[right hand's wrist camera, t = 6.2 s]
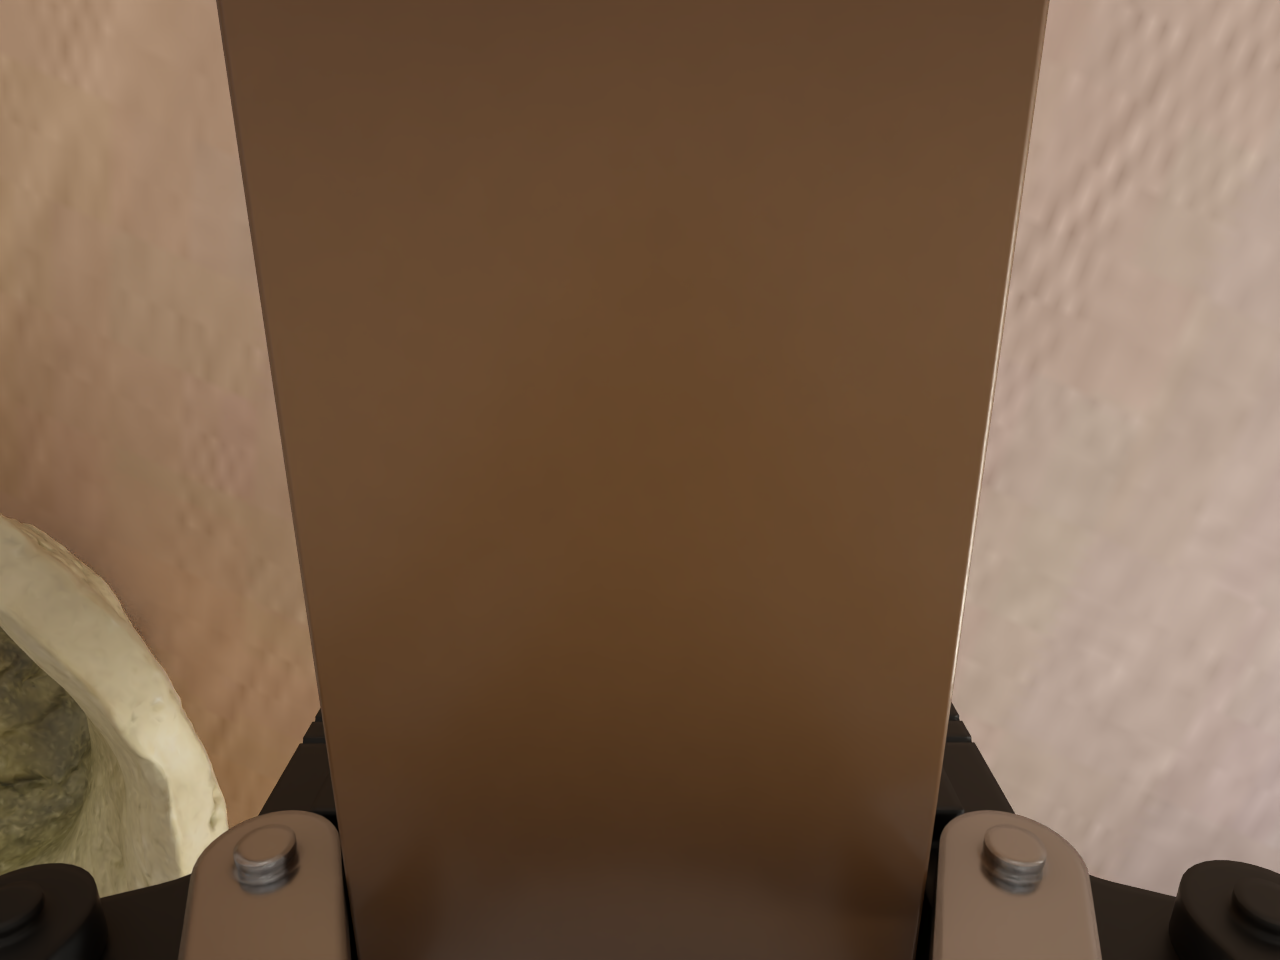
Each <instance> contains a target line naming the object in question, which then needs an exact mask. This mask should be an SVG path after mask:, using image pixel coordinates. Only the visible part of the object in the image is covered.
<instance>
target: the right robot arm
mask: <svg viewBox="0 0 1280 960" xmlns="http://www.w3.org/2000/svg"><path fill="white" fill-rule="evenodd" d="M0 960H358V957H357V950H356V943H355V936H354V930H353V923H352V916H351V909H350V903H349V896H348V889H347V882H346V876H345V869H344V862H343V855H342V848H341V842H340V835H339V828H338V821H337V815H336V808H335V801H334V794H333V788H332V781H331V774H330V767H329V760H328V754H327V747H326V740H325V733H324V727H323V720H322V713H321V708H320V710H319V712H318V713H317V715H316V719H315V722H312V724H311V725H310V727H309V729H308V731H307V732H306V734H305V736H304V737H303V744H299V746H298V748H297V750H296V751H295V753H294V755H293V756H292V758H291V760H290V762H289V763H288V765H287V767H286V769H285V770H284V772H283V774H282V775H281V777H280V779H279V781H278V782H277V784H276V786H275V788H274V789H273V791H272V793H271V794H270V796H269V798H268V800H267V801H266V803H265V805H264V807H263V808H262V810H261V812H260V813H259V815H258V816H257V817H254V818H251V819H249V820H246V821H244V822H242V823H240V824H238V825H236V826H234V827H232V828H230V829H229V830H227V831H226V832H224V833H222V834H221V835H220V836H219V837H217V838H216V839H215V840H214V841H212V842H211V843H210V844H209V845H208V846H207V847H206V848H205V849H204V851H203V852H202V853H201V855H200V856H199V857H198V859H197V861H196V863H195V865H194V867H193V870H192V873H191V874H188V875H186V876H183V877H180V878H178V879H175V880H171V881H168V882H164V883H161V884H157V885H153V886H148V887H144V888H140V889H136V890H132V891H127V892H123V893H119V894H115V895H110V896H106V897H102V898H100V896H99V893H98V889H97V885H96V883H95V880H94V878H93V876H92V875H91V874H90V873H89V872H88V871H86V870H85V869H83V868H81V867H78V866H75V865H72V864H65V863H46V864H39V865H33V866H29V867H24V868H20V869H17V870H14V871H11V872H8V873H5V874H3V875H1V876H0ZM915 960H1280V874H1278V873H1276V872H1273V871H1271V870H1268V869H1265V868H1262V867H1259V866H1256V865H1252V864H1247V863H1243V862H1237V861H1229V860H1213V861H1205V862H1202V863H1199V864H1196V865H1194V866H1192V867H1191V868H1189V869H1188V870H1187V871H1186V872H1185V873H1184V874H1183V877H1182V879H1181V882H1180V885H1179V889H1178V893H1177V896H1176V897H1174V896H1169V895H1165V894H1161V893H1157V892H1153V891H1148V890H1144V889H1140V888H1136V887H1131V886H1127V885H1123V884H1119V883H1115V882H1111V881H1107V880H1104V879H1100V878H1097V877H1094V876H1091V875H1089V873H1088V870H1087V867H1086V865H1085V863H1084V861H1083V859H1082V857H1081V856H1080V855H1079V853H1078V852H1077V851H1076V849H1075V848H1074V847H1073V846H1072V845H1071V844H1070V843H1069V842H1068V841H1066V840H1065V839H1064V838H1063V837H1061V836H1060V835H1059V834H1058V833H1056V832H1054V831H1053V830H1051V829H1050V828H1048V827H1046V826H1044V825H1042V824H1040V823H1038V822H1036V821H1034V820H1031V819H1029V818H1026V817H1023V816H1020V815H1016V814H1015V813H1014V811H1013V809H1012V808H1011V806H1010V804H1009V802H1008V801H1007V799H1006V797H1005V795H1004V794H1003V792H1002V790H1001V788H1000V787H999V785H998V783H997V781H996V779H995V778H994V776H993V774H992V772H991V771H990V769H989V767H988V765H987V764H986V762H985V760H984V758H983V757H982V755H981V753H980V751H979V750H978V748H977V746H976V744H975V743H974V742H972V741H971V736H970V734H969V732H968V730H967V729H966V727H965V725H964V723H963V722H962V721H960V720H959V715H958V713H957V711H956V709H955V708H954V706H953V704H952V702H951V707H950V714H949V722H948V729H947V736H946V743H945V750H944V757H943V764H942V772H941V779H940V786H939V793H938V800H937V807H936V814H935V822H934V829H933V836H932V843H931V850H930V857H929V864H928V872H927V879H926V886H925V893H924V900H923V907H922V914H921V922H920V929H919V936H918V943H917V950H916V957H915Z"/></svg>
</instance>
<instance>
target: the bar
mask: <svg viewBox="0 0 1280 960" xmlns="http://www.w3.org/2000/svg"><path fill="white" fill-rule="evenodd" d="M216 2H217V9H218V16H219V23H220V29H221V36H222V43H223V50H224V56H225V63H226V70H227V77H228V84H229V90H230V97H231V104H232V111H233V117H234V124H235V131H236V138H237V144H238V151H239V158H240V165H241V172H242V178H243V185H244V192H245V199H246V205H247V212H248V219H249V226H250V232H251V239H252V246H253V253H254V260H255V266H256V273H257V280H258V287H259V293H260V300H261V307H262V314H263V320H264V327H265V334H266V341H267V348H268V354H269V361H270V368H271V375H272V381H273V388H274V395H275V402H276V408H277V415H278V422H279V429H280V436H281V442H282V449H283V456H284V463H285V469H286V476H287V483H288V490H289V496H290V503H291V510H292V517H293V524H294V530H295V537H296V544H297V551H298V557H299V564H300V571H301V578H302V584H303V591H304V598H305V605H306V612H307V618H308V625H309V632H310V639H311V645H312V652H313V659H314V666H315V672H316V679H317V686H318V693H319V700H320V706H321V713H322V720H323V727H324V733H325V740H326V747H327V754H328V760H329V767H330V774H331V781H332V788H333V794H334V801H335V808H336V815H337V821H338V828H339V835H340V842H341V848H342V855H343V862H344V869H345V876H346V882H347V889H348V896H349V903H350V909H351V916H352V923H353V930H354V936H355V943H356V950H357V957H358V960H915V957H916V950H917V943H918V936H919V929H920V922H921V914H922V907H923V900H924V893H925V886H926V879H927V872H928V864H929V857H930V850H931V843H932V836H933V829H934V822H935V814H936V807H937V800H938V793H939V786H940V779H941V772H942V764H943V757H944V750H945V743H946V736H947V729H948V722H949V714H950V707H951V700H952V693H953V686H954V679H955V672H956V664H957V657H958V650H959V643H960V636H961V629H962V621H963V614H964V607H965V600H966V593H967V586H968V579H969V571H970V564H971V557H972V550H973V543H974V536H975V529H976V521H977V514H978V507H979V500H980V493H981V486H982V479H983V471H984V464H985V457H986V450H987V443H988V436H989V429H990V421H991V414H992V407H993V400H994V393H995V386H996V379H997V371H998V364H999V357H1000V350H1001V343H1002V336H1003V329H1004V321H1005V314H1006V307H1007V300H1008V293H1009V286H1010V278H1011V271H1012V264H1013V257H1014V250H1015V243H1016V236H1017V228H1018V221H1019V214H1020V207H1021V200H1022V193H1023V186H1024V178H1025V171H1026V164H1027V157H1028V150H1029V143H1030V136H1031V128H1032V121H1033V114H1034V107H1035V100H1036V93H1037V86H1038V78H1039V71H1040V64H1041V57H1042V50H1043V43H1044V36H1045V28H1046V21H1047V14H1048V7H1049V0H216Z"/></svg>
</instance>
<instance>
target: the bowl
mask: <svg viewBox="0 0 1280 960" xmlns="http://www.w3.org/2000/svg"><path fill="white" fill-rule="evenodd" d="M227 830H228V822H227V810H226V803H225V799H224V797H223V794H222V792H221V790H220V787H219V785H218V782H217V779H216V777H215V774H214V771H213V768H212V764H211V761H210V759H209V757H208V755H207V752H206V750H205V747H204V745H203V744H202V742H201V741H200V739H199V738H198V736H197V734H196V732H195V730H194V728H193V725H192V723H191V721H190V720H189V718H188V717H187V715H186V712H185V711H184V710H183V708H182V705H181V699H180V697H179V695H178V694H177V693H176V691H175V689H174V687H173V685H172V683H171V681H170V679H169V677H168V675H167V673H166V672H165V670H164V668H163V667H162V666H161V665H160V664H159V662H158V661H157V660H156V659H155V657H154V656H153V654H152V653H151V651H150V650H149V648H148V647H147V645H146V644H145V642H144V641H143V639H142V638H141V636H140V635H139V634H138V632H137V631H136V630H135V628H134V627H133V626H132V624H131V622H130V620H129V619H128V617H127V615H126V613H125V612H124V611H123V609H122V607H121V604H120V602H119V600H118V598H117V597H116V595H115V594H114V593H113V591H112V590H111V589H110V587H109V585H108V584H107V583H106V582H105V581H104V580H103V579H102V578H101V577H100V576H98V575H97V574H96V573H95V572H93V570H92V569H91V568H90V567H88V566H87V565H85V564H84V563H83V562H82V561H81V560H79V559H78V558H76V557H75V556H74V555H73V554H71V553H70V552H69V551H68V550H67V549H66V548H65V547H64V546H63V545H61V544H60V543H58V542H57V541H56V540H54V539H53V538H51V537H50V536H49V535H47V534H46V533H45V532H43V531H41V530H39V529H38V528H36V527H35V526H33V525H31V524H27V523H20V522H19V521H18V520H16V519H12V518H8V517H5V516H3V515H2V514H1V513H0V876H1V875H3V874H5V873H8V872H11V871H14V870H17V869H20V868H24V867H29V866H33V865H39V864H46V863H65V864H72V865H75V866H78V867H81V868H83V869H85V870H86V871H88V872H89V873H90V874H91V875H92V876H93V878H94V880H95V883H96V885H97V889H98V893H99V896H100V898H102V897H106V896H110V895H115V894H119V893H123V892H127V891H132V890H136V889H140V888H144V887H148V886H153V885H157V884H161V883H164V882H168V881H171V880H175V879H178V878H180V877H183V876H186V875H188V874H191V873H192V870H193V867H194V865H195V863H196V861H197V859H198V857H199V856H200V855H201V853H202V852H203V851H204V849H205V848H206V847H207V846H208V845H209V844H210V843H211V842H212V841H214V840H215V839H216V838H217V837H219V836H220V835H221V834H222V833H224V832H226V831H227Z"/></svg>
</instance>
